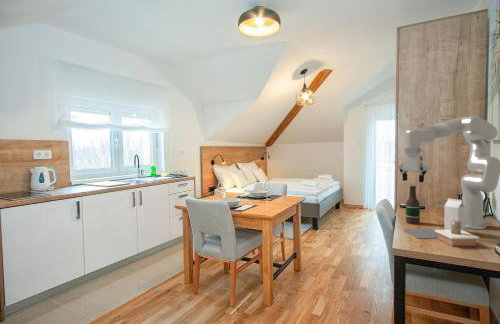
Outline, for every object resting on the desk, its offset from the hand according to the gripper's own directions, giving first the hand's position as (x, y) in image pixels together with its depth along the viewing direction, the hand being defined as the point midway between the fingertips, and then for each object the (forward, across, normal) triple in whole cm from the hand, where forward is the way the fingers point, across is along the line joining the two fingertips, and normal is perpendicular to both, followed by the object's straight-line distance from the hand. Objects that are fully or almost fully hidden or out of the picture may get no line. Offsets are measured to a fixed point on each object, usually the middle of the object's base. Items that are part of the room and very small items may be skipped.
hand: (412, 181), depth 159 cm
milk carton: (+30, -12, -18) cm, 37 cm away
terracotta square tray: (+29, -22, -1) cm, 37 cm away
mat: (+29, -5, -2) cm, 30 cm away
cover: (+25, -22, -1) cm, 34 cm away
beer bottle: (+30, +12, -18) cm, 37 cm away
